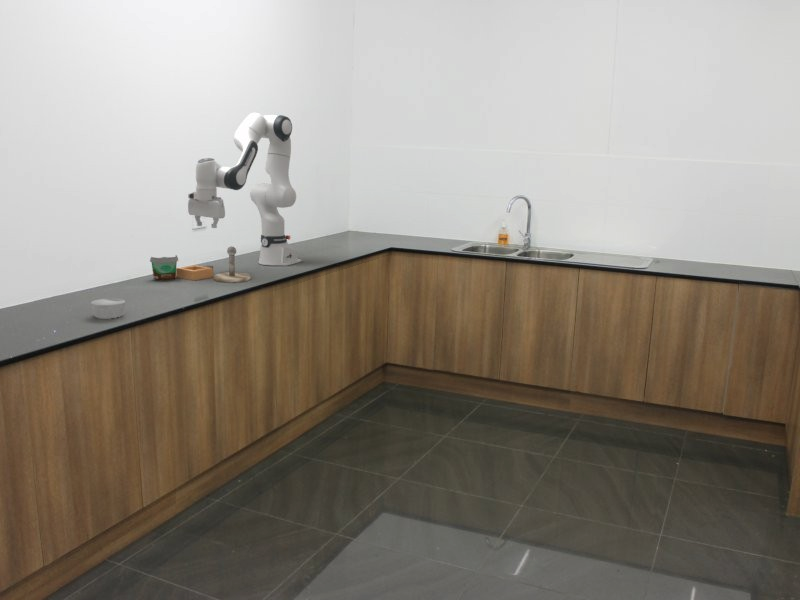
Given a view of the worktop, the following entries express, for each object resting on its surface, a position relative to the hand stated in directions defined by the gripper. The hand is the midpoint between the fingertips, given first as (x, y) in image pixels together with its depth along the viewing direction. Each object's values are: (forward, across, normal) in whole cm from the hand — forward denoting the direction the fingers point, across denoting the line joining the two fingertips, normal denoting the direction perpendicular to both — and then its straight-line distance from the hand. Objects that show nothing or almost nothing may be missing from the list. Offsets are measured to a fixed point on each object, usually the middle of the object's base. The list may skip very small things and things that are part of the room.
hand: (206, 226), depth 347 cm
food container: (+22, +4, +19) cm, 30 cm away
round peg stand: (+22, -15, -1) cm, 26 cm away
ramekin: (+23, -34, +76) cm, 86 cm away
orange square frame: (+22, 0, +5) cm, 22 cm away
